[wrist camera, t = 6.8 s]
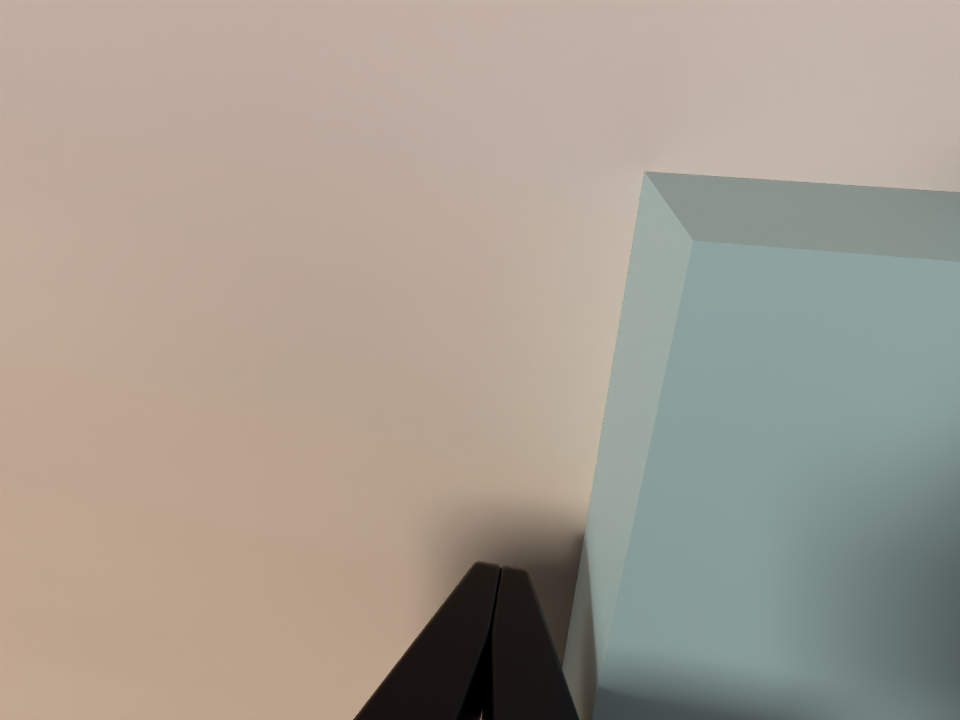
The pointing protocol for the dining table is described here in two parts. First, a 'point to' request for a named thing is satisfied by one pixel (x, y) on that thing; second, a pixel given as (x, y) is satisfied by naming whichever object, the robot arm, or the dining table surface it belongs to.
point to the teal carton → (777, 461)
